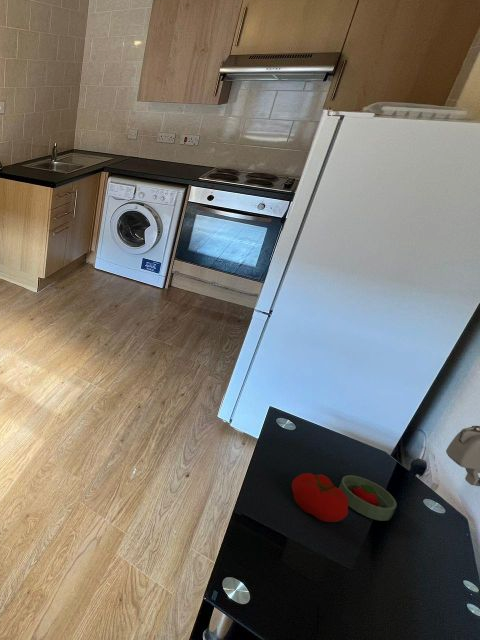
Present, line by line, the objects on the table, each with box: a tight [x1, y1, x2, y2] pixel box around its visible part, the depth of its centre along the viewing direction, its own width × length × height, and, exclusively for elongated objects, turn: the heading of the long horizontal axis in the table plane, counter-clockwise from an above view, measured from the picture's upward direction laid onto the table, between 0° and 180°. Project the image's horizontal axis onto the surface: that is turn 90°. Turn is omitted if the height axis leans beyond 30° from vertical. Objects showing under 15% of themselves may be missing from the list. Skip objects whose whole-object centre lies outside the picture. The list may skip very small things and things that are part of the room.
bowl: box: [338, 474, 398, 522], centre depth 112 cm, size 11×11×4 cm
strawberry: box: [352, 485, 380, 507], centre depth 112 cm, size 4×4×5 cm
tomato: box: [291, 472, 349, 523], centre depth 109 cm, size 11×12×9 cm
